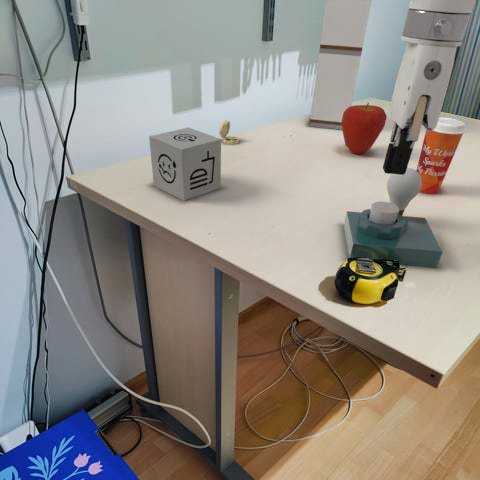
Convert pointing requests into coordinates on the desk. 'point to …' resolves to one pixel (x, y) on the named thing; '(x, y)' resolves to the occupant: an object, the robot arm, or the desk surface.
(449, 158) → the paper cup
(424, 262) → the teal button base
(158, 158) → the icon cube
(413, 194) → the light bulb
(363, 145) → the apple
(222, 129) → the eyeshadow
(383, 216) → the grey push button
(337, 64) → the tall brown-striped box
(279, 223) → the desk surface
